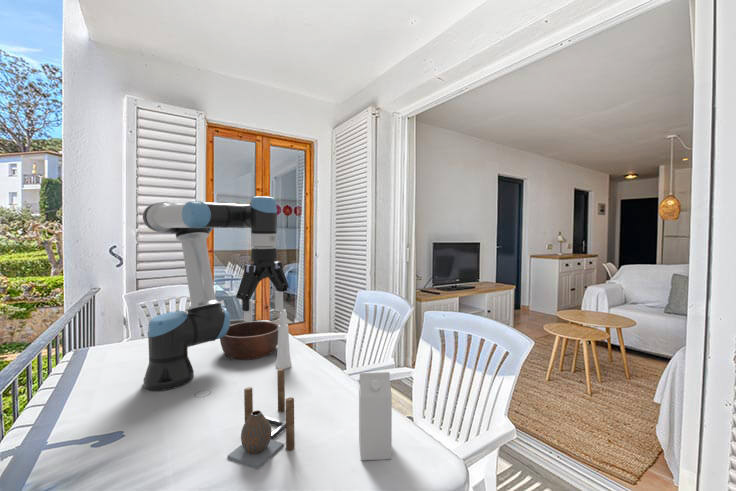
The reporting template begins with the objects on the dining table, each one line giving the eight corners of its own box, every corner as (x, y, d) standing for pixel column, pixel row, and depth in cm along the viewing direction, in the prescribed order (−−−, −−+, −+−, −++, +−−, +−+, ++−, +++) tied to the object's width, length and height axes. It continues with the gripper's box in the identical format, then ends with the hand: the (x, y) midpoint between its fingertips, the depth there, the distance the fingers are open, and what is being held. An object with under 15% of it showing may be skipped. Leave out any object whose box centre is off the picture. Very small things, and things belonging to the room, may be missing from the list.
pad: (227, 458, 79) (227, 455, 79) (255, 436, 87) (255, 434, 87) (257, 469, 75) (257, 466, 75) (283, 445, 83) (283, 443, 83)
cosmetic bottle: (274, 364, 134) (273, 308, 133) (289, 362, 136) (289, 307, 135) (277, 370, 128) (276, 312, 127) (293, 367, 131) (292, 310, 130)
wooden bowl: (257, 338, 165) (257, 318, 165) (292, 349, 151) (292, 326, 150) (207, 354, 145) (207, 330, 145) (242, 368, 130) (242, 341, 130)
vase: (276, 441, 84) (276, 406, 84) (262, 460, 77) (262, 422, 77) (251, 438, 85) (250, 404, 85) (235, 456, 79) (234, 419, 78)
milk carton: (358, 442, 85) (358, 367, 84) (387, 440, 85) (387, 366, 85) (360, 461, 78) (360, 379, 77) (391, 459, 78) (391, 378, 77)
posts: (243, 435, 87) (242, 389, 87) (280, 407, 101) (280, 368, 100) (291, 451, 81) (290, 402, 81) (324, 419, 95) (324, 377, 94)
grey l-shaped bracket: (241, 430, 90) (241, 426, 90) (258, 418, 95) (258, 414, 95) (271, 440, 86) (271, 435, 85) (287, 426, 91) (287, 422, 91)
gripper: (242, 250, 92) (243, 328, 93) (299, 246, 114) (299, 308, 115) (222, 249, 95) (223, 324, 96) (281, 245, 117) (281, 306, 118)
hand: (264, 316), depth 106 cm, fingers open, 13 cm apart
